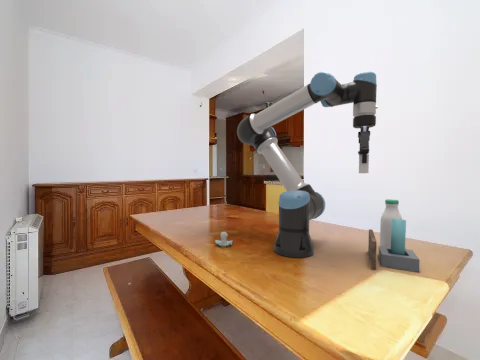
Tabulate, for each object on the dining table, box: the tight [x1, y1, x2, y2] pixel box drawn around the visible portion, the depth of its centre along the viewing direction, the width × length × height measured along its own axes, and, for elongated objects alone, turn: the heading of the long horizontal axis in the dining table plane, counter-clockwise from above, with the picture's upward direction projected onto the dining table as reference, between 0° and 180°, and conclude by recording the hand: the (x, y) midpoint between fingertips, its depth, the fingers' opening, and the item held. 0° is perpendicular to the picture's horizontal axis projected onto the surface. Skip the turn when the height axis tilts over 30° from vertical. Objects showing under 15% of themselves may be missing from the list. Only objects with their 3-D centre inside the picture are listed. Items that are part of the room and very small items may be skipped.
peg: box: [390, 218, 407, 256], centre depth 78 cm, size 4×4×14 cm
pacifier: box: [214, 231, 233, 248], centre depth 98 cm, size 7×6×6 cm
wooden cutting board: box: [367, 229, 378, 271], centre depth 82 cm, size 1×18×9 cm, turn 154°
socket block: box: [378, 245, 420, 273], centre depth 78 cm, size 10×10×4 cm
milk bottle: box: [379, 198, 403, 247], centre depth 95 cm, size 8×8×20 cm
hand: (363, 173), depth 87 cm, fingers open, 13 cm apart
